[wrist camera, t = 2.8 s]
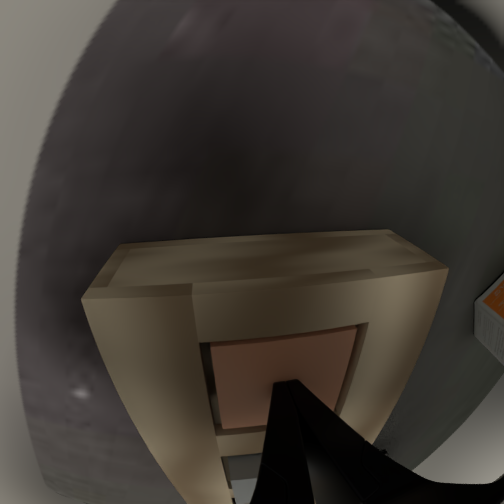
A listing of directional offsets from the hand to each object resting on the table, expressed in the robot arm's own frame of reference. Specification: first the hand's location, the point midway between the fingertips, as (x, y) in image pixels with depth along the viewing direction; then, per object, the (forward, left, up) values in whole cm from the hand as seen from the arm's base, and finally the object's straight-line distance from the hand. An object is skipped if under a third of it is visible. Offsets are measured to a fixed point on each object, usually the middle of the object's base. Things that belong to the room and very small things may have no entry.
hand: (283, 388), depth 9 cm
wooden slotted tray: (0, +7, -4) cm, 8 cm away
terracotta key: (0, 0, -2) cm, 2 cm away
